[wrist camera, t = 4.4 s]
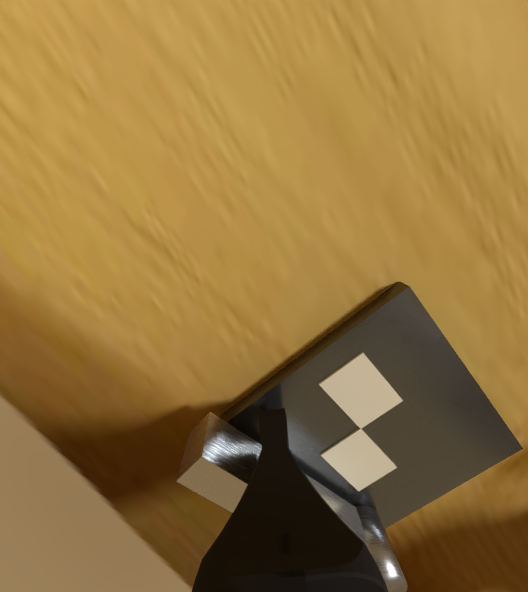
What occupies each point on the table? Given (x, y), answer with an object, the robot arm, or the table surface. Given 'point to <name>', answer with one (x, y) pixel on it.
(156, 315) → the table surface
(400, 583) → the swing arm
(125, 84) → the table surface
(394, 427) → the plate
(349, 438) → the label
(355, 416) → the label
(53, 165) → the table surface
